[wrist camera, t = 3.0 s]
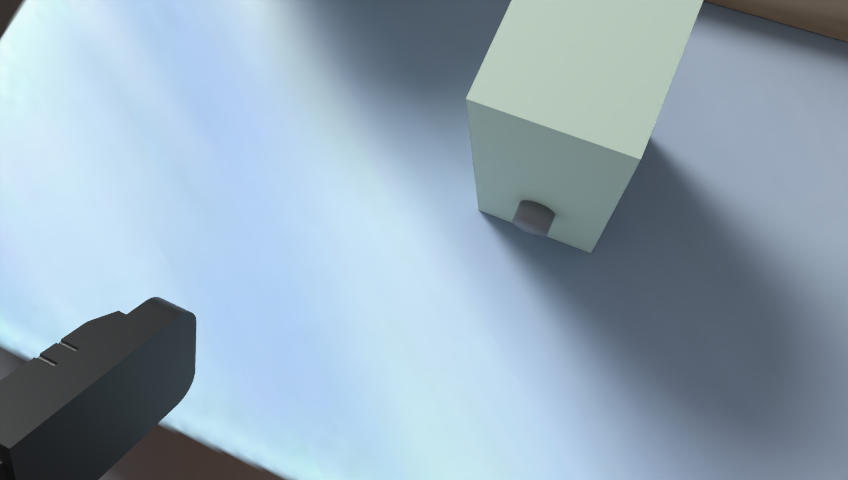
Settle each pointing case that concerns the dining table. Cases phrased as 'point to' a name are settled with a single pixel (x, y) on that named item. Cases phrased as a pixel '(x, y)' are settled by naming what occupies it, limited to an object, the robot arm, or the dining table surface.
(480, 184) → the cabinet
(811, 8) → the wooden stand
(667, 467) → the dining table surface
